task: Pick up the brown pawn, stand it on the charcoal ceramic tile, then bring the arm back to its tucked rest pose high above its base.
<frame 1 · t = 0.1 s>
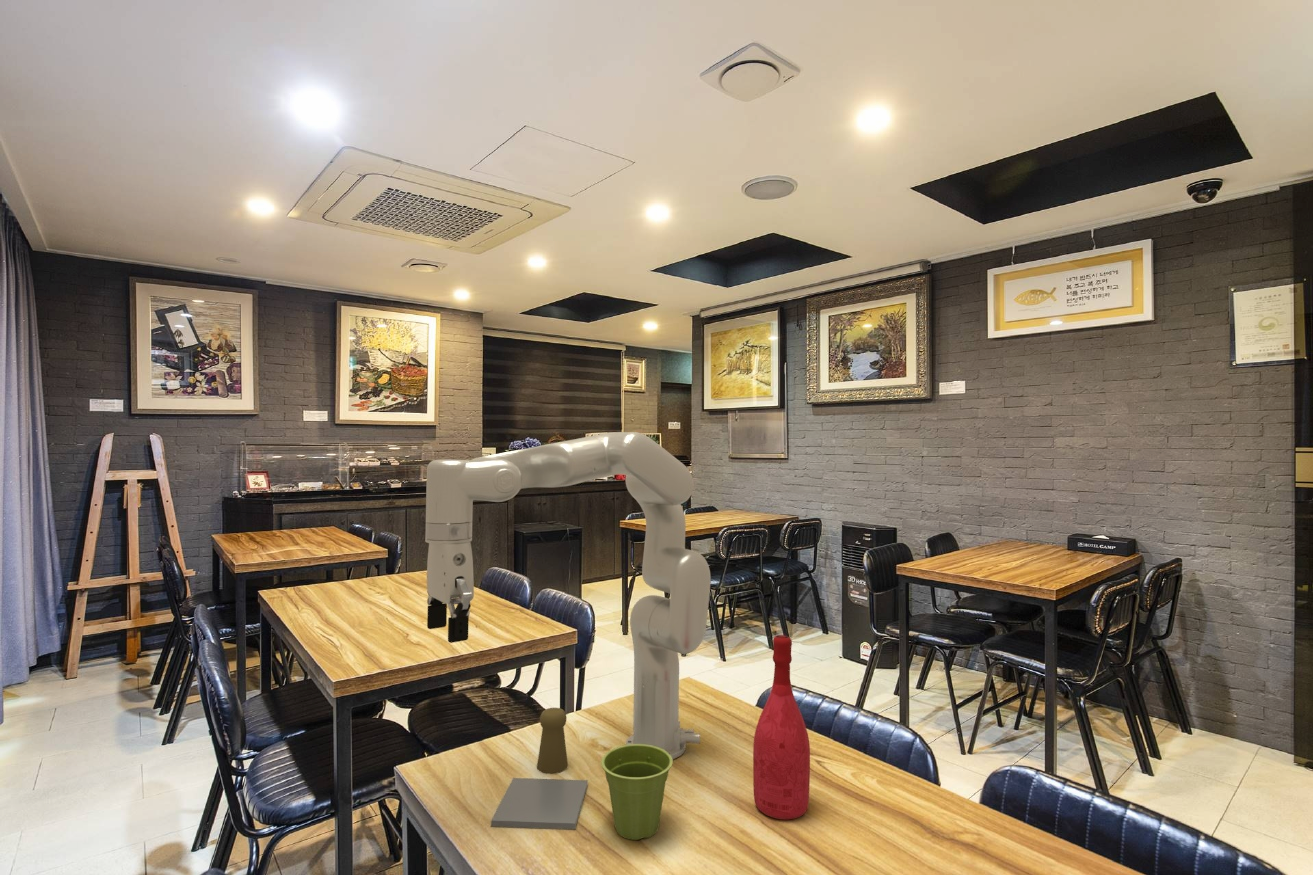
hand: (447, 634, 109), 31 cm above the table, tool pointing down, fingers open, 9 cm apart
wine bottle: (780, 808, 114), on the table
brown pawn: (552, 767, 128), on the table
plant pot: (636, 829, 107), on the table
tile: (542, 804, 114), on the table
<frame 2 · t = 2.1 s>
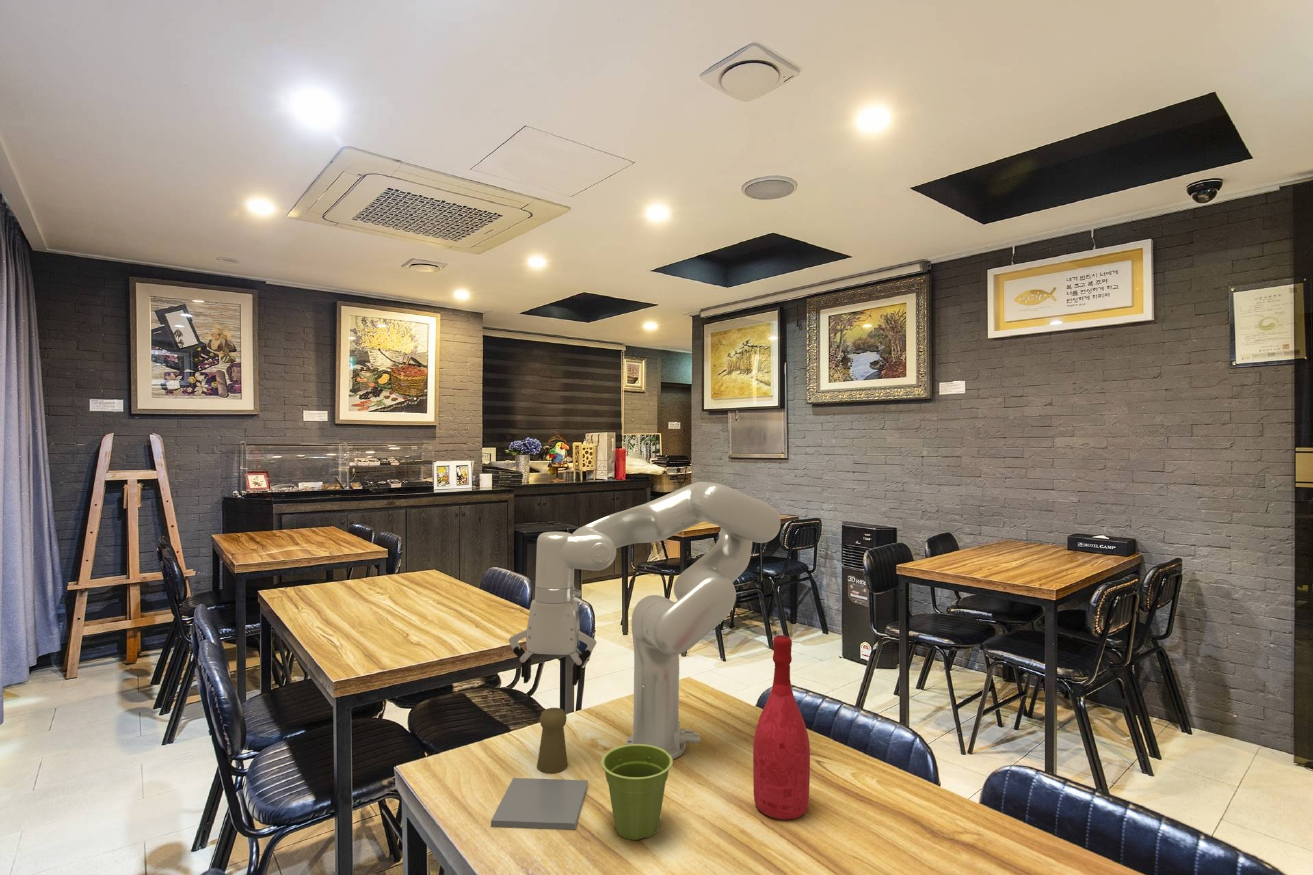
hand: (551, 681, 128), 17 cm above the table, tool pointing down, fingers open, 9 cm apart
nothing on the table moved.
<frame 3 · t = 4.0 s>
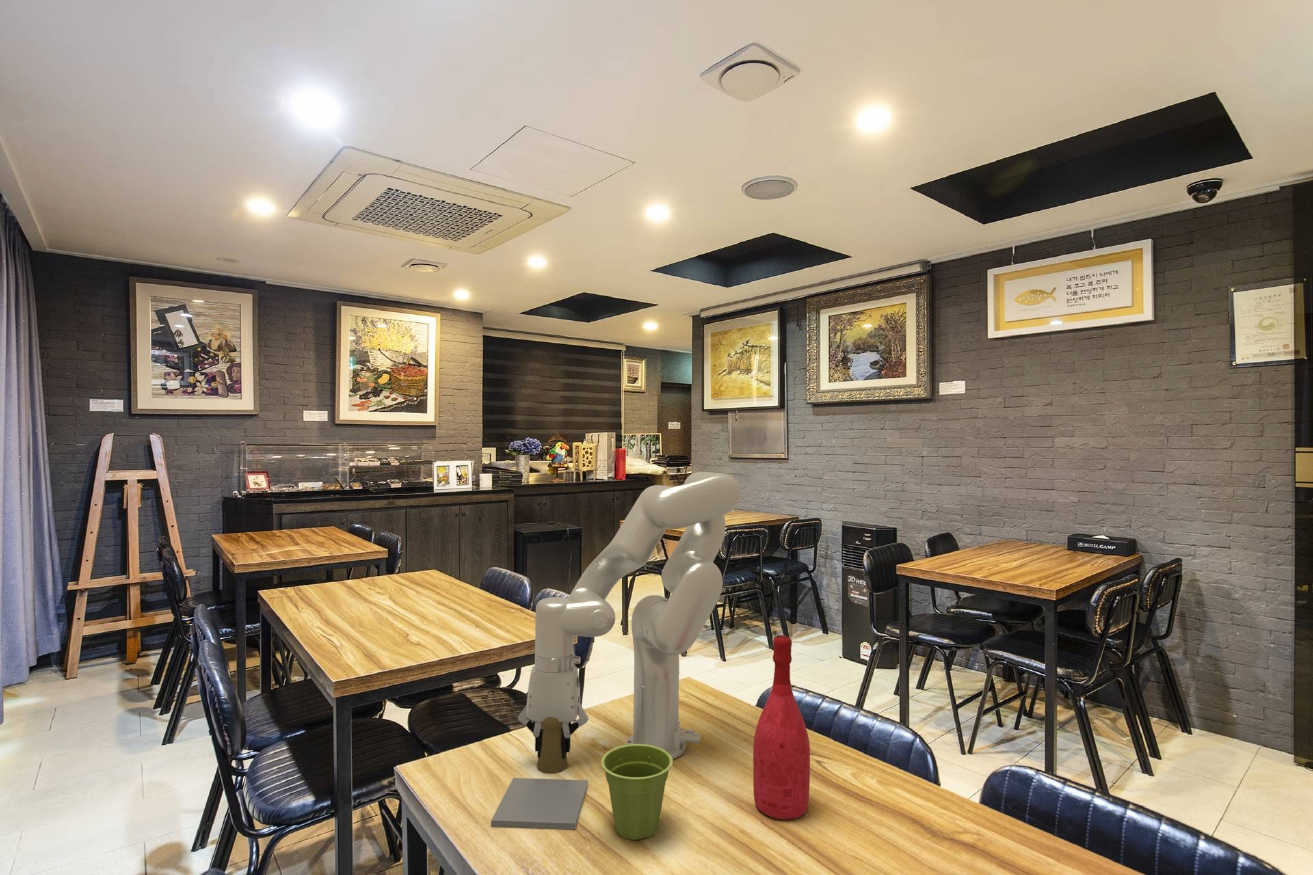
hand: (552, 754, 128), 2 cm above the table, tool pointing down, fingers closed on brown pawn, 4 cm apart
brown pawn: (552, 766, 128), on the table, touching gripper
everything else where it was.
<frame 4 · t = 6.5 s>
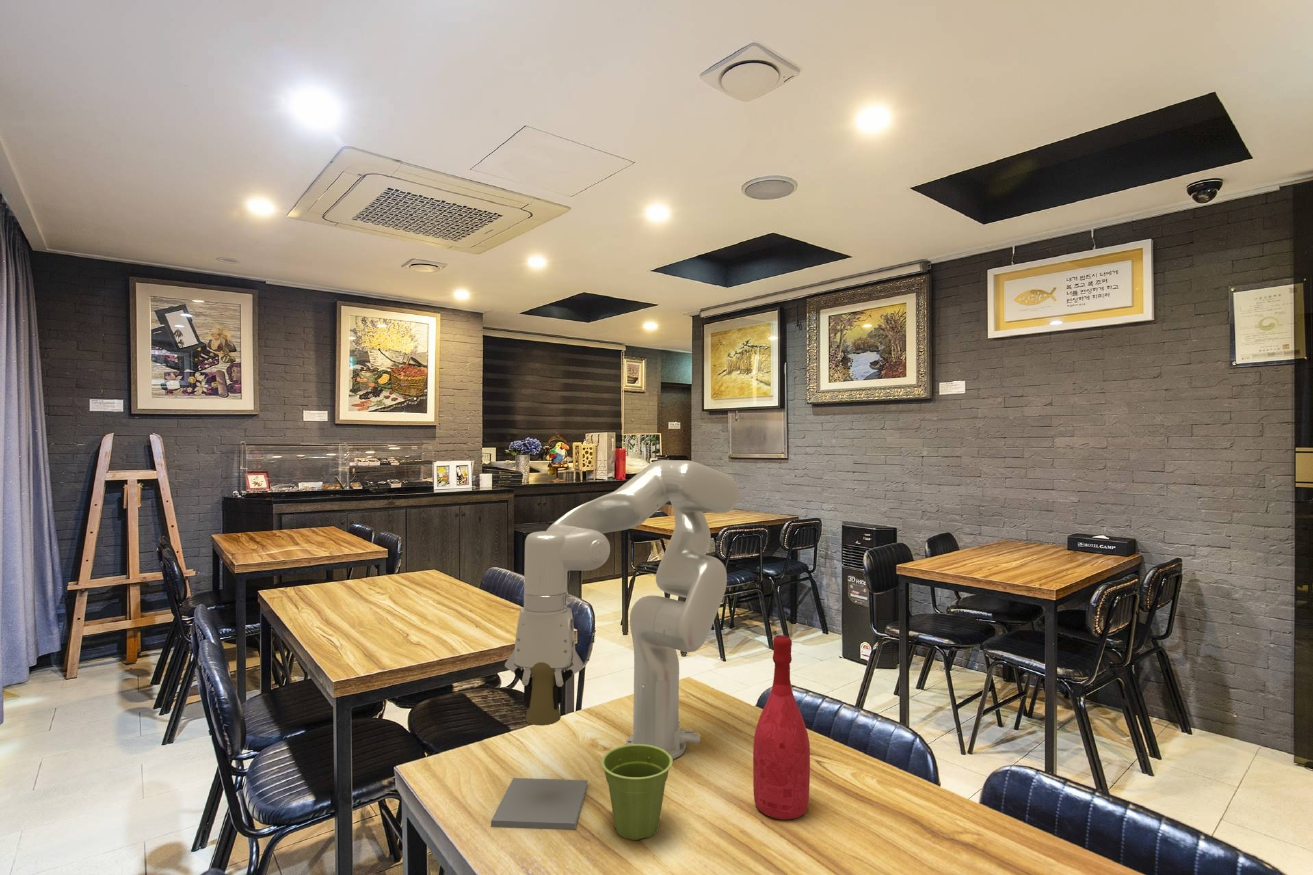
hand: (543, 705, 114), 17 cm above the table, tool pointing down, fingers closed on brown pawn, 4 cm apart
brown pawn: (543, 719, 114), point 15 cm above the table, touching gripper
everything else where it was.
when the fingers open (5 cm above the table, at t = 9.2 s): brown pawn drops 1 cm, resting on tile.
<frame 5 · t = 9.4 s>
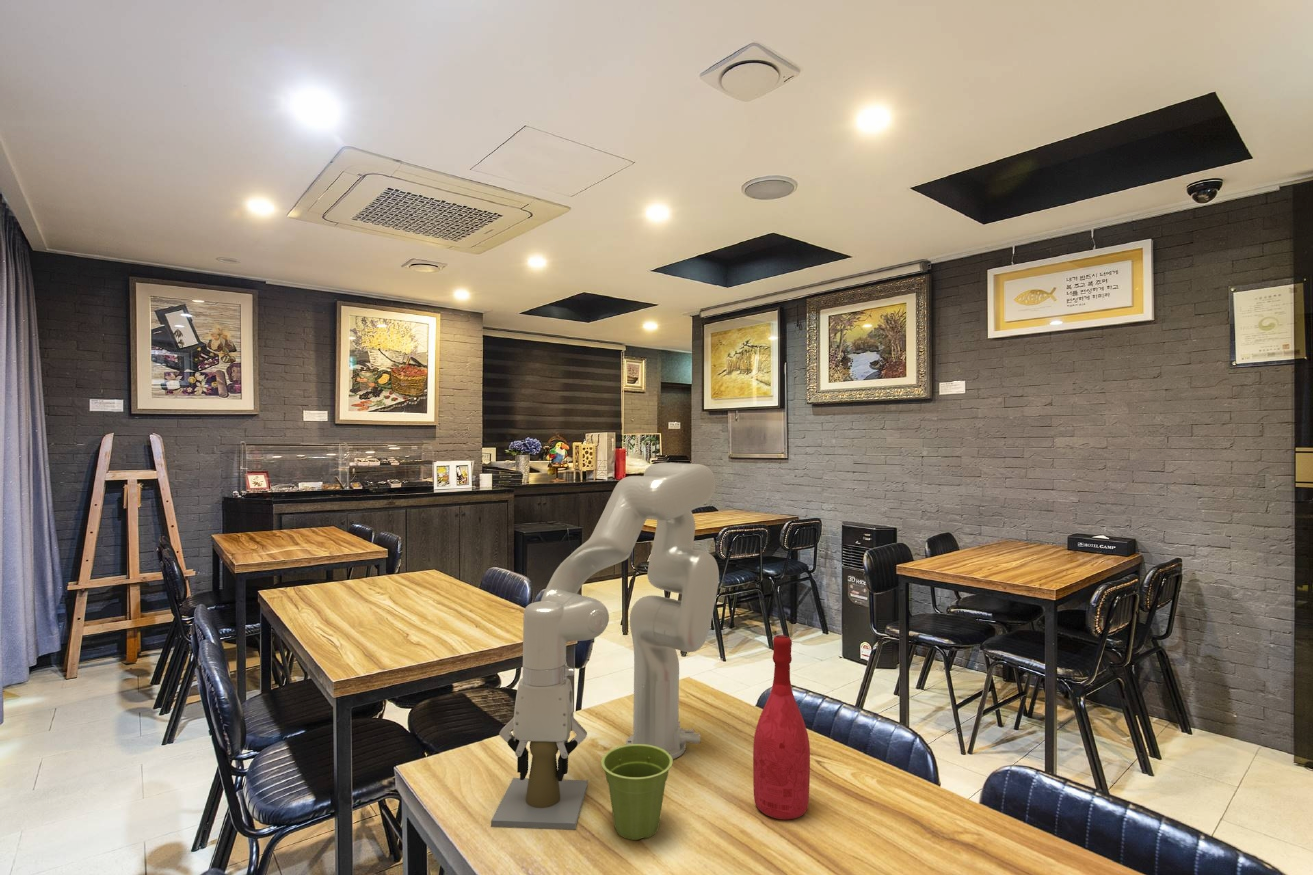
hand: (542, 775, 114), 5 cm above the table, tool pointing down, fingers open, 6 cm apart
brown pawn: (543, 799, 114), point 1 cm above the table, touching tile
everything else where it was.
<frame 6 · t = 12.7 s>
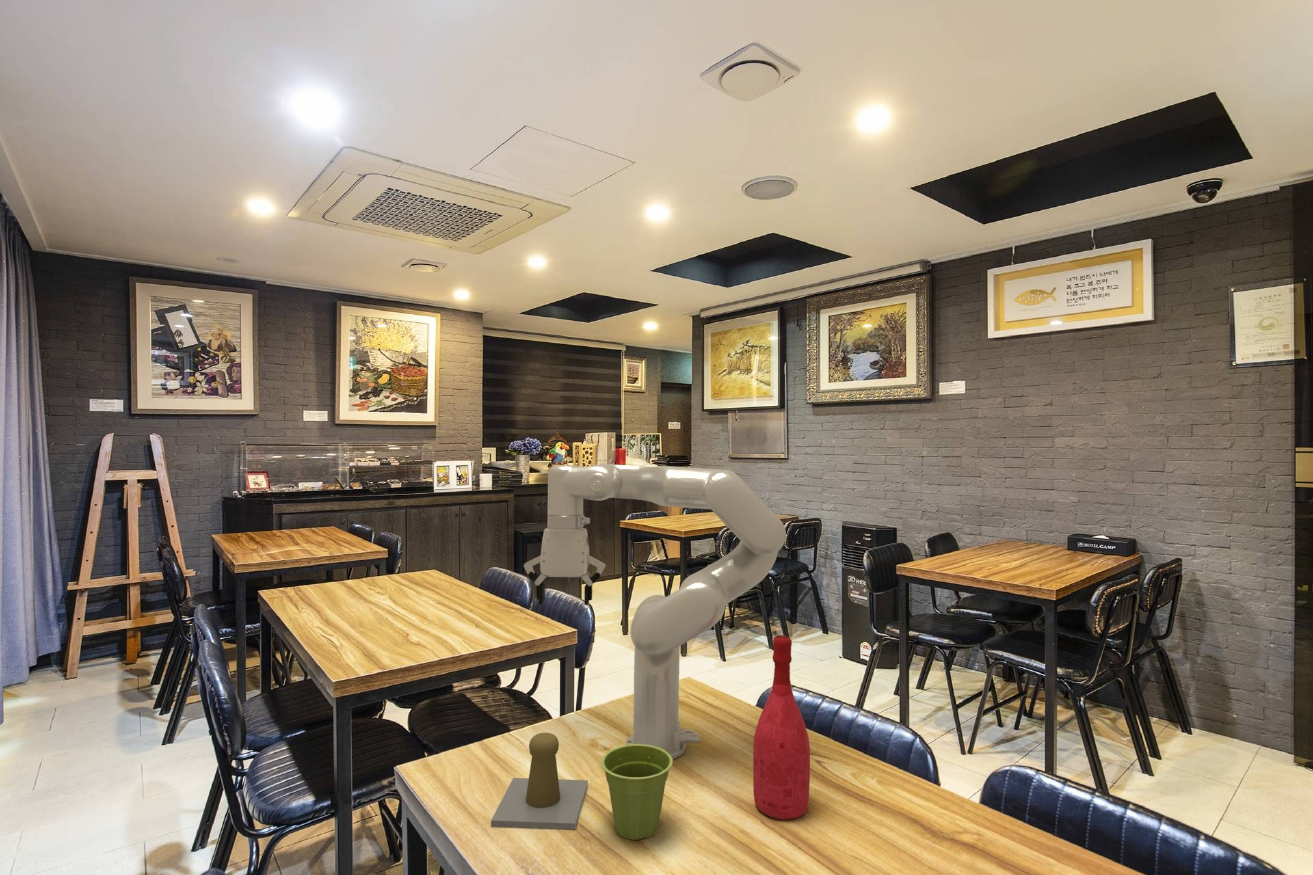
hand: (564, 603, 138), 30 cm above the table, tool pointing down, fingers open, 9 cm apart
nothing on the table moved.
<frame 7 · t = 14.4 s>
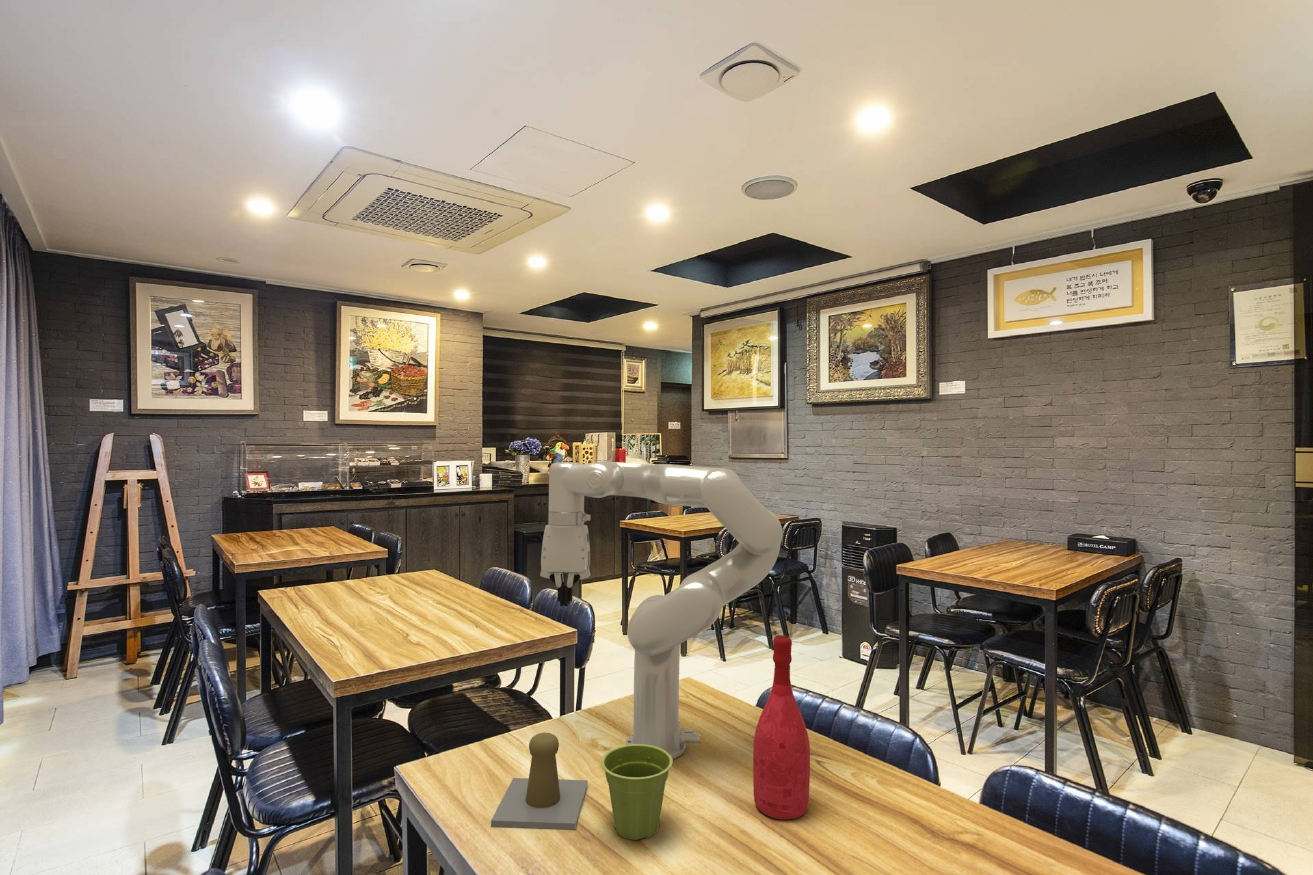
hand: (564, 604, 139), 29 cm above the table, tool pointing down, fingers closed
nothing on the table moved.
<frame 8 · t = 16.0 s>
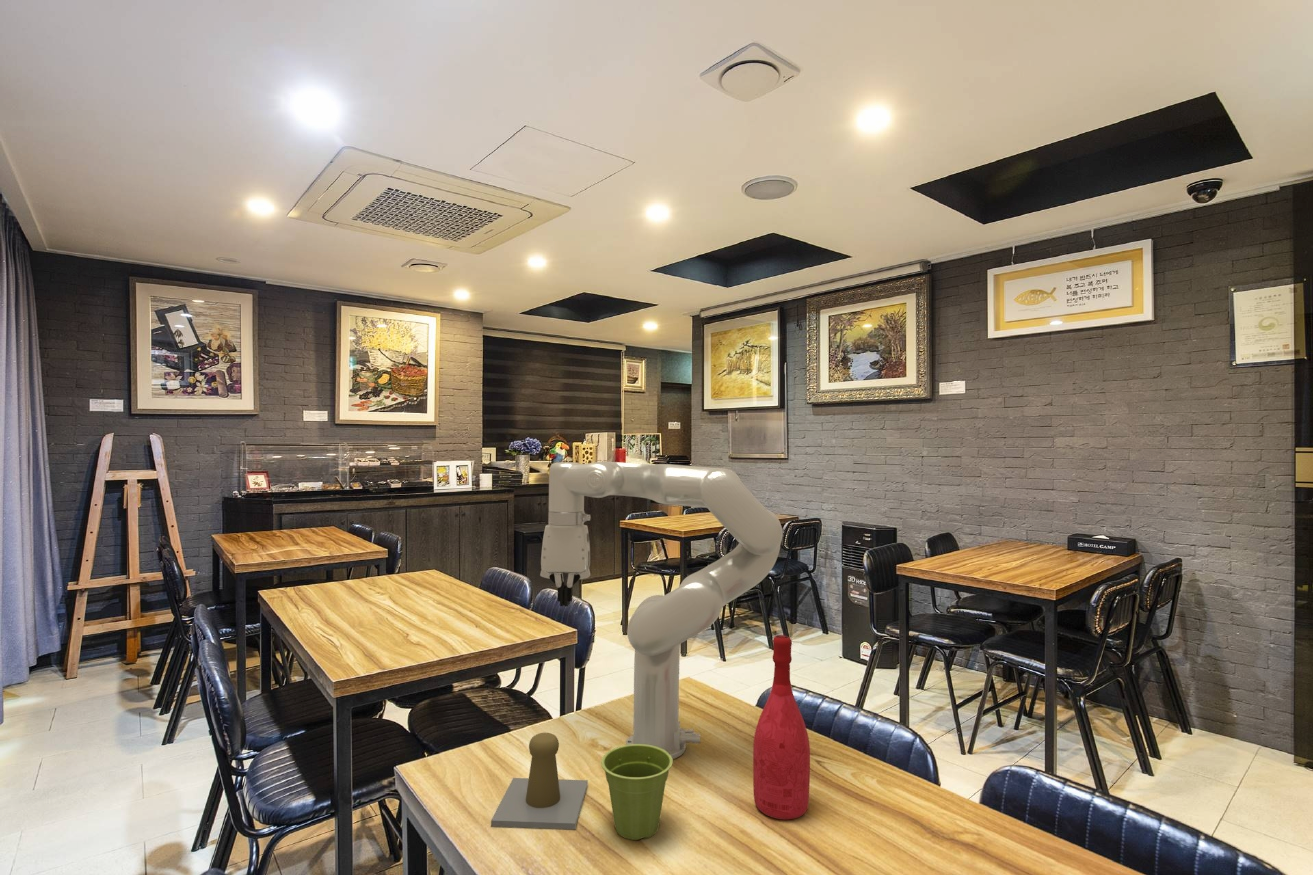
hand: (564, 604, 139), 29 cm above the table, tool pointing down, fingers closed
nothing on the table moved.
at the end: brown pawn inside the target area on the tile (0.2 cm from its centre), point 0.8 cm above the tile's base; brown pawn tilted 0°; the gripper is holding nothing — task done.
